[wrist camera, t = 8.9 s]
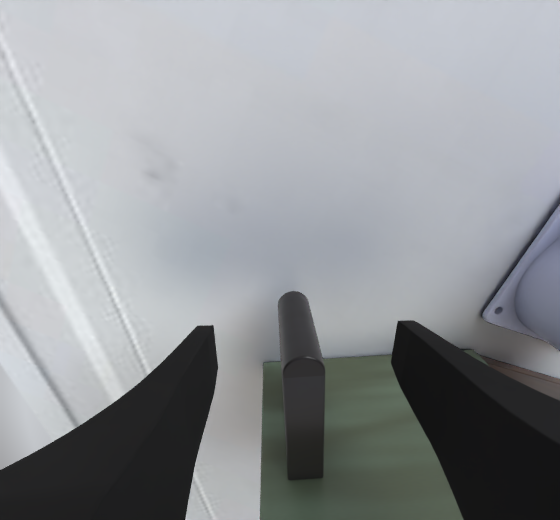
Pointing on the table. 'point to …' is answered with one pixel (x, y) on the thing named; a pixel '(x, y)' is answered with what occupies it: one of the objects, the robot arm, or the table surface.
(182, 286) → the table surface
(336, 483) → the cupboard door
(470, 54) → the table surface
